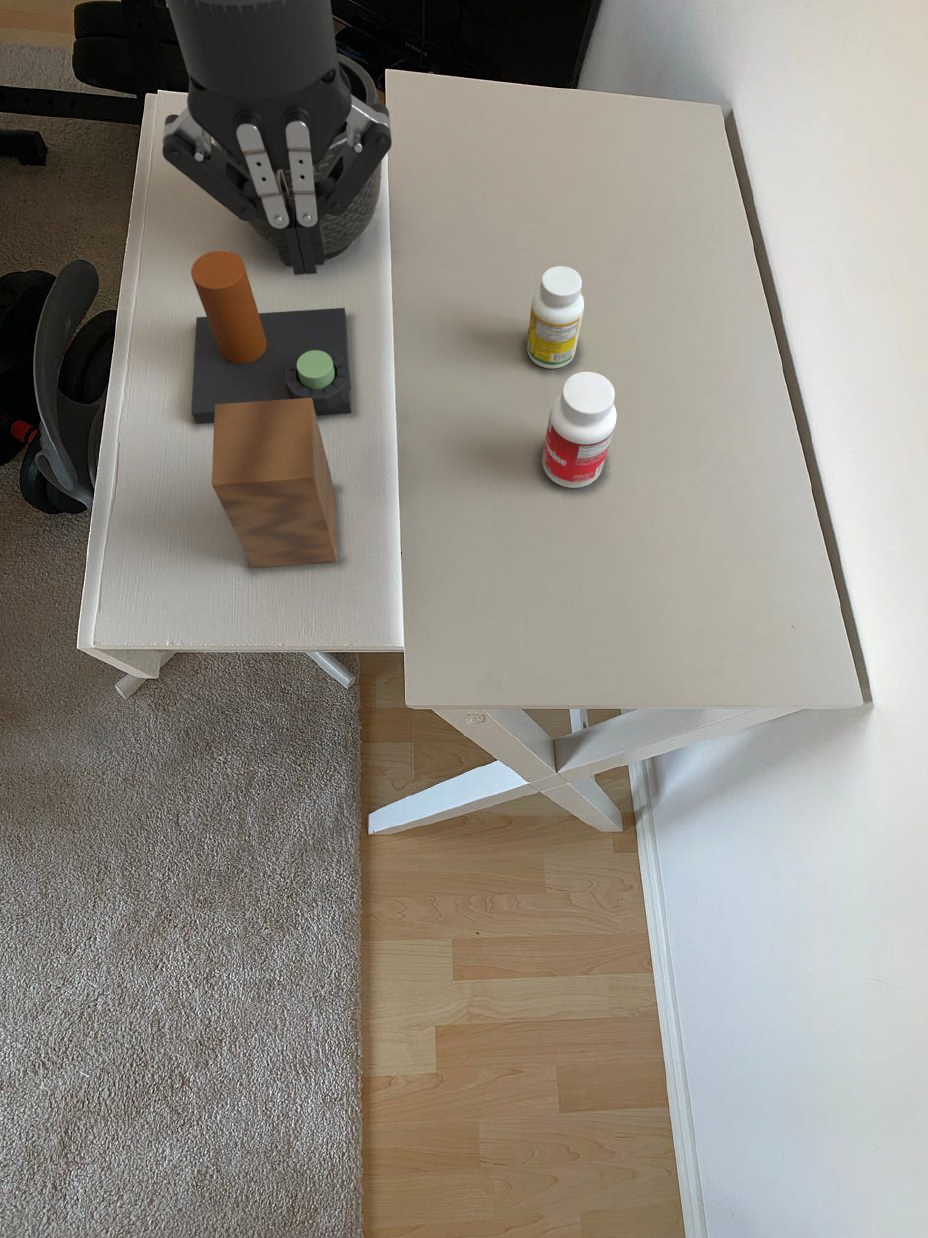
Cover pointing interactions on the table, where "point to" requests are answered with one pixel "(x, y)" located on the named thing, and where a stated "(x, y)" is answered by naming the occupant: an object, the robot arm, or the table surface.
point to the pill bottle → (579, 430)
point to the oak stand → (275, 481)
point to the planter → (362, 208)
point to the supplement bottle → (555, 318)
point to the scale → (274, 364)
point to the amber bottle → (229, 306)
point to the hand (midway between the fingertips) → (305, 264)
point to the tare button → (315, 369)
